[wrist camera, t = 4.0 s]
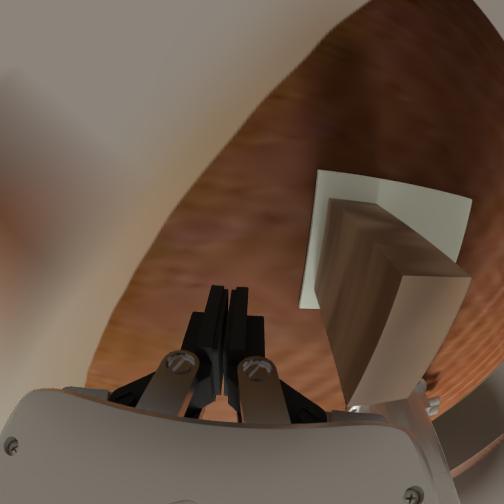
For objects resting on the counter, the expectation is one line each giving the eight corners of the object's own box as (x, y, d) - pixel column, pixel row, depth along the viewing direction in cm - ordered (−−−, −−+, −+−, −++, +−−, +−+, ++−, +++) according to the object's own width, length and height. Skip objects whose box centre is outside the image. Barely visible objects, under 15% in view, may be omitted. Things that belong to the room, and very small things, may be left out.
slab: (377, 203, 19) (474, 277, 9) (358, 291, 23) (410, 397, 12) (328, 197, 20) (402, 275, 9) (314, 289, 23) (346, 407, 12)
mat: (469, 198, 19) (472, 199, 19) (436, 304, 24) (438, 307, 24) (317, 169, 19) (318, 170, 19) (298, 304, 24) (299, 308, 24)
